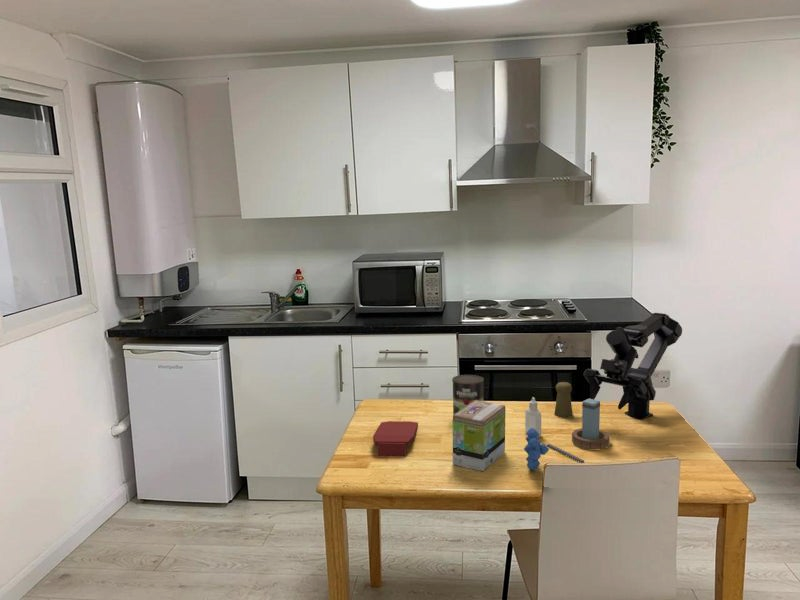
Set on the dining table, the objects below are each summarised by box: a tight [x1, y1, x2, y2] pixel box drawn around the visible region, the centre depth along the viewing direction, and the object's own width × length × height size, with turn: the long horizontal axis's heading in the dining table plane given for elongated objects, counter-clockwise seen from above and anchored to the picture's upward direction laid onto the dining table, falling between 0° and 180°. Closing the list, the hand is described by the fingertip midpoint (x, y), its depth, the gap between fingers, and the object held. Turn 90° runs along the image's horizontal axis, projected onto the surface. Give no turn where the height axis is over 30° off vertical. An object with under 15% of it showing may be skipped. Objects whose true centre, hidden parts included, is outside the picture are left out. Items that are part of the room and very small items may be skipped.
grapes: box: [523, 428, 550, 471], centre depth 168 cm, size 12×7×12 cm, turn 172°
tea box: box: [452, 400, 506, 472], centre depth 176 cm, size 15×10×15 cm, turn 148°
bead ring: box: [571, 428, 611, 450], centre depth 185 cm, size 10×10×2 cm
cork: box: [554, 381, 574, 419], centre depth 208 cm, size 6×6×11 cm
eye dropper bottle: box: [524, 396, 542, 438], centre depth 192 cm, size 4×6×12 cm
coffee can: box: [451, 374, 485, 416], centre depth 207 cm, size 10×10×14 cm
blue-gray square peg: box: [581, 398, 601, 440], centre depth 184 cm, size 4×4×13 cm
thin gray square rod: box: [546, 443, 585, 463], centre depth 178 cm, size 1×14×1 cm, turn 28°
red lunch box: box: [372, 420, 419, 457], centre depth 193 cm, size 12×5×25 cm
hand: (604, 405), depth 189 cm, fingers open, 9 cm apart
